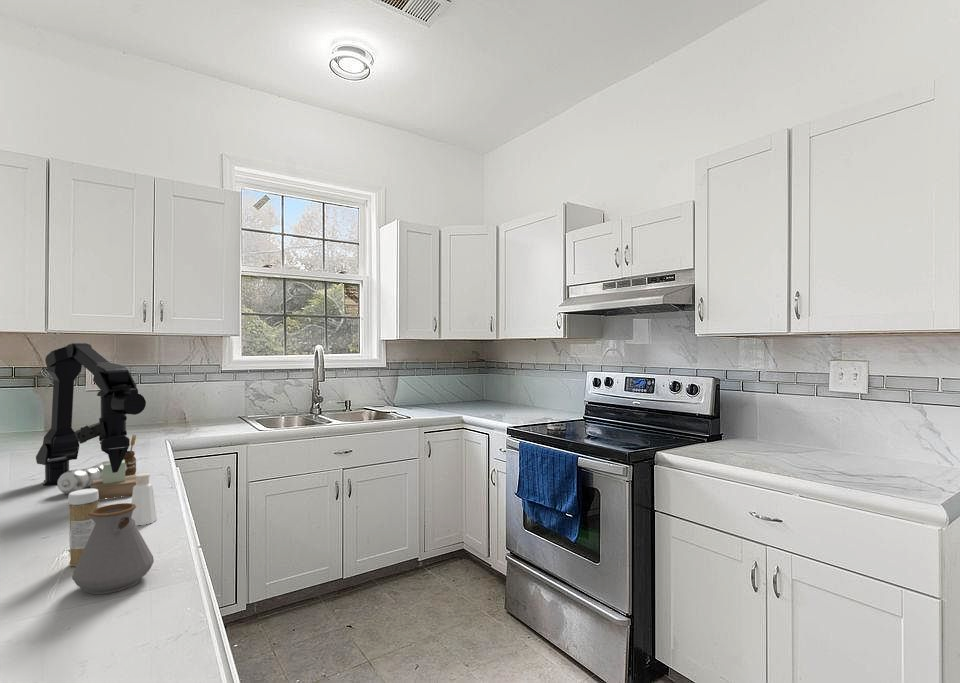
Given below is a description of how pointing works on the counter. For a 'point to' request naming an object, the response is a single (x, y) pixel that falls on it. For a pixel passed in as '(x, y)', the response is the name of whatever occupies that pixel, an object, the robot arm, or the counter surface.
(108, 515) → the coffee pot
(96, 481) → the walnut block
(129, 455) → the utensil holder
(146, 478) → the salt shaker
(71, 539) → the sprinkles bottle
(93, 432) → the robot arm
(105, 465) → the sage cube
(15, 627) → the counter surface
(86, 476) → the plastic bottle
